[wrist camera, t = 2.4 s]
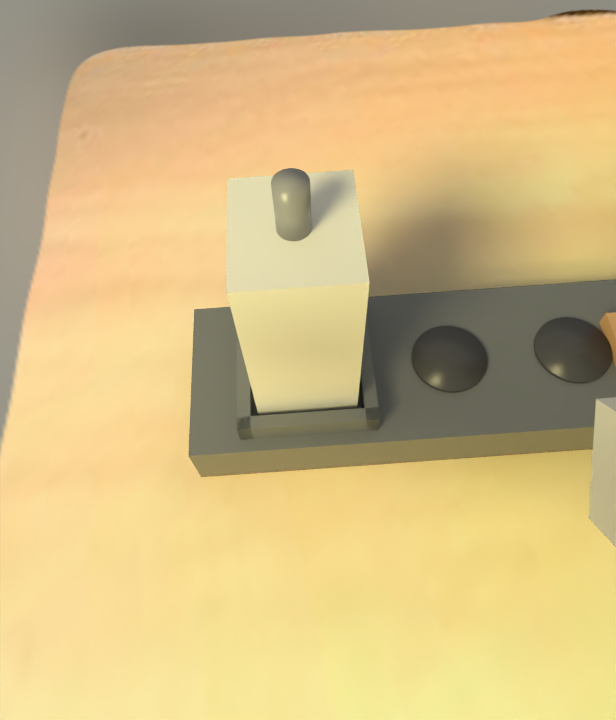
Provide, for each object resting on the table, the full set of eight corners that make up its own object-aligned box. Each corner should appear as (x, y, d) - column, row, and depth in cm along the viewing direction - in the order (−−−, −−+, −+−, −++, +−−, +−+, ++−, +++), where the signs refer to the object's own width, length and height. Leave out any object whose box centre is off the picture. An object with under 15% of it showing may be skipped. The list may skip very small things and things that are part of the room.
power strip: (611, 310, 33) (647, 263, 29) (663, 443, 29) (711, 408, 25) (205, 339, 33) (189, 295, 29) (201, 476, 29) (182, 446, 25)
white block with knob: (346, 323, 29) (355, 122, 19) (356, 413, 27) (373, 239, 16) (257, 329, 29) (217, 132, 19) (259, 420, 27) (215, 251, 16)
